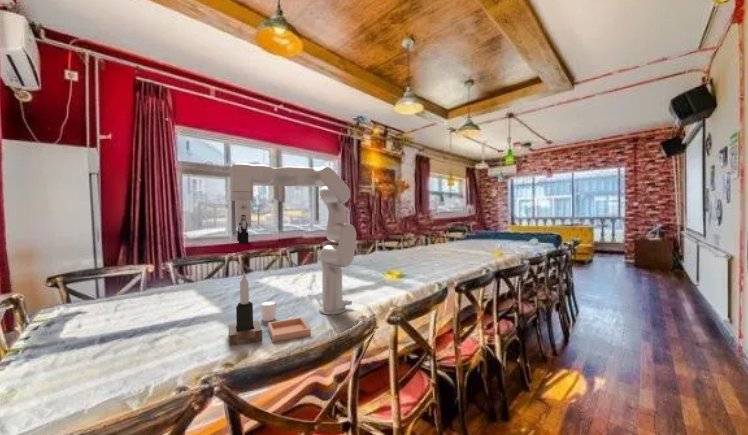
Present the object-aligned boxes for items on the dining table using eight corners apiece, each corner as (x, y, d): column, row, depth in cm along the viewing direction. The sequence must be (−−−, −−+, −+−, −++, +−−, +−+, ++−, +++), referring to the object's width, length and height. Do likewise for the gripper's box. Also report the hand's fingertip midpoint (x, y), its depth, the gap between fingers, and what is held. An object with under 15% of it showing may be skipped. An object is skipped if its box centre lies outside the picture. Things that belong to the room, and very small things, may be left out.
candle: (240, 335, 120) (239, 271, 119) (254, 334, 120) (253, 271, 119) (235, 340, 115) (234, 274, 114) (249, 340, 115) (248, 274, 114)
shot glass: (271, 321, 134) (271, 306, 133) (257, 320, 135) (257, 305, 135) (279, 316, 140) (279, 301, 140) (265, 315, 142) (265, 300, 141)
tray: (301, 322, 132) (301, 317, 132) (310, 335, 120) (310, 328, 120) (267, 328, 126) (267, 322, 126) (273, 342, 114) (273, 335, 114)
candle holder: (258, 329, 125) (258, 320, 125) (262, 340, 115) (262, 329, 115) (228, 335, 120) (228, 324, 120) (229, 346, 110) (229, 335, 110)
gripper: (255, 196, 109) (255, 244, 110) (250, 197, 125) (251, 239, 125) (232, 196, 106) (232, 245, 106) (230, 197, 121) (230, 240, 122)
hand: (242, 242), depth 116 cm, fingers open, 9 cm apart
